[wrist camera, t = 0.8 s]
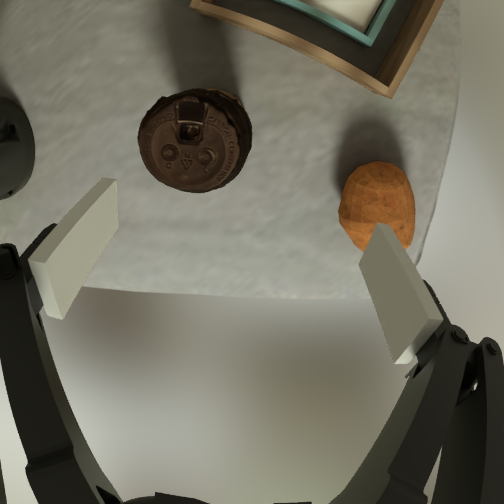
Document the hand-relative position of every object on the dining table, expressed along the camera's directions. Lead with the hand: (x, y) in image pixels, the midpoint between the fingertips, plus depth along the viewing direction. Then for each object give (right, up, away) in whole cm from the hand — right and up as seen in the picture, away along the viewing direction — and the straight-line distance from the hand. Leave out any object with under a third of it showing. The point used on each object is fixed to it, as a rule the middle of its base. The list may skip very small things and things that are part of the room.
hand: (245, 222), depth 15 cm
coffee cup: (-3, +13, +16) cm, 21 cm away
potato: (+14, +5, +20) cm, 26 cm away
